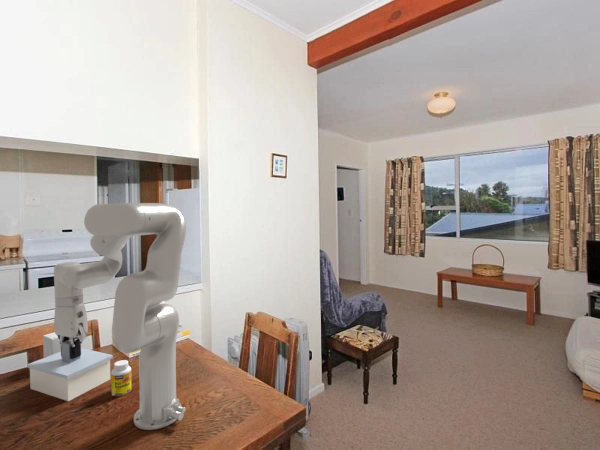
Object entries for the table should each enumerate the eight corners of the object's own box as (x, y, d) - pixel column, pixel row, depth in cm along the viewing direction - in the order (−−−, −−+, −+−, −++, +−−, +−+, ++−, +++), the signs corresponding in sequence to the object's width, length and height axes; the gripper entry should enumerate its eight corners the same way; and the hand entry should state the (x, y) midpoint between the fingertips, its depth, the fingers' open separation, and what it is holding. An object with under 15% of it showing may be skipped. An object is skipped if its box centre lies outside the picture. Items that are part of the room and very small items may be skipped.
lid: (112, 357, 112) (112, 337, 112) (67, 379, 99) (66, 355, 98) (74, 349, 120) (74, 329, 119) (27, 367, 106) (26, 345, 105)
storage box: (110, 381, 113) (110, 358, 112) (68, 404, 100) (67, 378, 99) (74, 371, 119) (73, 349, 119) (30, 391, 106) (29, 367, 106)
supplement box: (75, 366, 124) (74, 332, 123) (52, 374, 117) (51, 339, 117) (66, 361, 127) (65, 328, 127) (43, 369, 121) (42, 334, 121)
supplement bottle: (112, 401, 101) (111, 368, 101) (110, 392, 106) (110, 361, 106) (132, 395, 104) (132, 363, 104) (130, 387, 109) (129, 357, 109)
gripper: (98, 300, 108) (99, 355, 109) (64, 295, 115) (66, 347, 116) (75, 306, 102) (77, 365, 102) (40, 301, 108) (42, 356, 109)
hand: (71, 355), depth 109 cm, fingers closed on lid, 3 cm apart
